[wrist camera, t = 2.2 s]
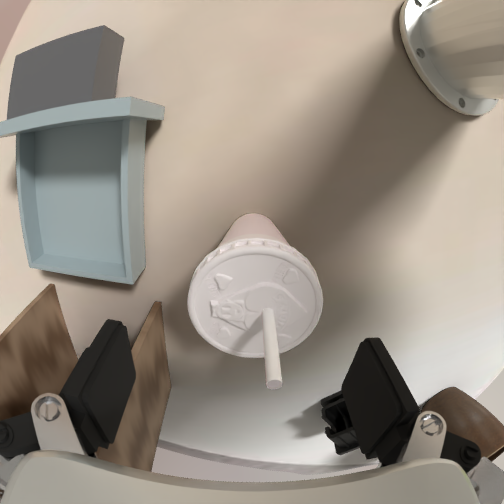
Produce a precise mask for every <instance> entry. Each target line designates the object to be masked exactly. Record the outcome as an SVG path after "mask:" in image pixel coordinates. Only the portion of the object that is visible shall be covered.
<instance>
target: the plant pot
mask: <svg viewBox="0 0 504 504" xmlns="http://www.w3.org/2000/svg"><path fill="white" fill-rule="evenodd" d="M425 411H433V412H436V413H438V414H439V415H441V416H442V417H443V419H444V420H445V422H446V431H449V432H451V433H453V434H456V435H458V436H460V437H463V438H465V439H468V440H470V441H472V442H474V443H476V444H477V445H478V446H479V448H480V450H481V458H483V457H484V456H485V457H486V458H487V459H488V460H490V461H491V462H492V461H493V460H494V459H496V458H497V457H498V456H499V455H500V454H501V453H503V452H504V426H503V424H502V423H501V422H500V421H499V420H498V419H497V418H496V417H495V416H494V415H493V414H492V413H490V412H489V411H488V410H487V409H486V408H485V407H484V406H482V405H481V404H480V403H478V402H477V401H476V400H475V399H473V398H472V397H470V396H469V395H467V394H466V393H464V392H463V391H461V390H459V389H458V388H456V387H450V388H447V389H445V390H443V391H441V392H439V393H438V394H436V395H435V396H434V397H432V398H431V399H430V400H429V401H428V402H427V403H426V404H425V405H424V407H423V408H422V410H421V413H422V412H425Z"/></svg>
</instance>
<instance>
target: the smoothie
mask: <svg viewBox="0 0 504 504" xmlns="http://www.w3.org/2000/svg"><path fill="white" fill-rule="evenodd" d="M187 304H188V312H189V316H190V319H191V321H192V324H193V325H194V327H195V329H196V330H197V332H198V333H199V334H200V335H201V336H202V337H203V338H204V339H205V340H206V341H207V342H208V343H209V344H211V345H212V346H214V347H215V348H217V349H219V350H221V351H223V352H226V353H228V354H231V355H235V356H239V357H246V358H265V375H266V387H267V388H269V389H273V390H274V389H279V388H280V387H282V385H283V383H282V374H281V366H280V357H279V354H281V353H284V352H286V351H288V350H290V349H292V348H294V347H296V346H297V345H299V344H300V343H301V342H303V341H304V340H305V339H306V338H307V337H308V336H309V335H310V334H311V333H312V331H313V330H314V328H315V327H316V325H317V323H318V321H319V319H320V317H321V313H322V309H323V293H322V289H321V286H320V283H319V280H318V276H317V273H316V271H315V269H314V268H313V266H312V265H311V263H310V262H309V260H308V259H307V258H306V257H305V256H303V255H302V254H301V253H300V252H299V251H297V250H296V249H295V248H293V247H291V246H290V245H289V244H288V242H287V241H286V240H285V238H284V237H283V236H282V234H281V233H280V231H279V230H278V229H277V227H276V226H275V225H274V223H273V222H272V221H271V220H270V219H269V218H267V217H266V216H264V215H261V214H256V213H250V214H246V215H243V216H241V217H239V218H238V219H237V220H236V221H235V222H234V223H233V225H232V226H231V228H230V229H229V231H228V232H227V234H226V235H225V237H224V238H223V240H222V241H221V243H220V244H219V246H218V248H217V249H215V250H214V251H212V252H211V253H209V254H208V255H206V257H205V258H204V259H203V260H202V262H201V263H200V264H199V265H198V266H197V268H196V269H195V272H194V274H193V277H192V279H191V282H190V289H189V293H188V300H187Z"/></svg>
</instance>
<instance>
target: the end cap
mask: <svg viewBox="0 0 504 504" xmlns="http://www.w3.org/2000/svg"><path fill="white" fill-rule="evenodd" d="M321 405H322V406H323V408H322V418H323V419H324V420H325V421H326V422H327V423H328V424H329V425H330V426H331V429H330V428H329V427H326V428H325V430H326V431H325V434H326V435H327V437H328V438H329V439H330V440H331V441H333V442H334V444H335V449H336V453H337V454H338V455H343V454H345V453H348V452H350V451H353V450H355V449H358V448H360V446H359V443H358V440H357V437H356V434H355V431H354V427H353V424H352V421H351V418H350V415H349V412H348V409H347V406H346V403H345V400H344V397H343V394H342V390H341V391H339V392H337V393H335V394H333V395H330V396H328V397H326V398H324V399H322V400H321Z"/></svg>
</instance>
